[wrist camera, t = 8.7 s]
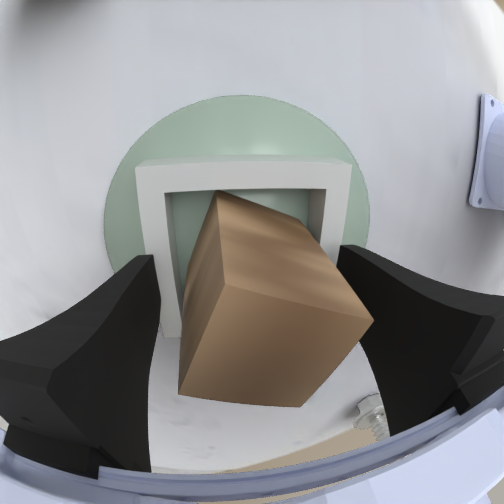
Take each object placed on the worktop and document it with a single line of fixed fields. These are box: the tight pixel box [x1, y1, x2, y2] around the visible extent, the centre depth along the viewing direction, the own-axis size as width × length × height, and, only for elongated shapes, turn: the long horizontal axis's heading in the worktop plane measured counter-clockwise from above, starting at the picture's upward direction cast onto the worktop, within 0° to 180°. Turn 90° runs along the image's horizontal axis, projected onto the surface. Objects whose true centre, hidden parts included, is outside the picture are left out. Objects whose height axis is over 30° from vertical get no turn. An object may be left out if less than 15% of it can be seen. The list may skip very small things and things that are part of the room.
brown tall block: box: [178, 190, 374, 407], centre depth 10 cm, size 4×4×7 cm
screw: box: [353, 394, 404, 464], centre depth 18 cm, size 13×5×5 cm
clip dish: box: [104, 95, 370, 338], centre depth 12 cm, size 13×13×2 cm
